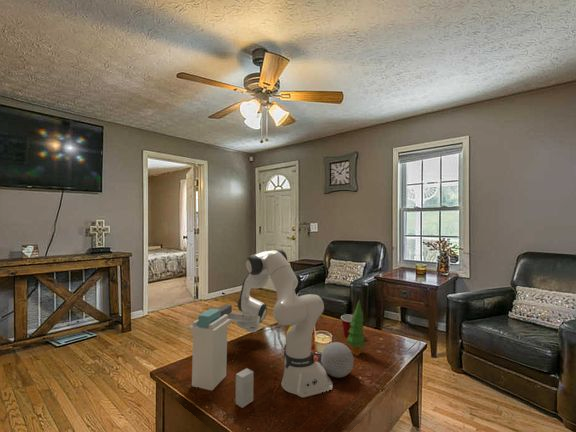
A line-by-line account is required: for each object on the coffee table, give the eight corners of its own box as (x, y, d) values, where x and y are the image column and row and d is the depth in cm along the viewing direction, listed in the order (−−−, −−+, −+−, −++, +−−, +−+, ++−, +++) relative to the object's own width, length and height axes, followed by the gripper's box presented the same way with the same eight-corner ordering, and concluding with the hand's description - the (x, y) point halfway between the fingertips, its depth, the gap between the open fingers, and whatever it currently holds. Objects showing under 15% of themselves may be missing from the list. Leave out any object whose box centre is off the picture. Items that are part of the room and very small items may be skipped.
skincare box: (246, 396, 121) (246, 367, 121) (253, 401, 118) (254, 371, 118) (234, 403, 116) (235, 373, 116) (242, 408, 114) (242, 377, 114)
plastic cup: (339, 338, 181) (339, 319, 181) (341, 332, 191) (341, 313, 191) (357, 341, 178) (357, 321, 178) (358, 334, 188) (358, 315, 188)
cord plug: (223, 311, 148) (224, 301, 148) (232, 312, 146) (233, 302, 146) (198, 326, 127) (198, 315, 127) (208, 328, 125) (208, 316, 125)
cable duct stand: (206, 370, 140) (208, 311, 140) (229, 375, 137) (230, 315, 137) (188, 386, 127) (189, 321, 127) (212, 392, 123) (214, 325, 123)
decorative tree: (365, 357, 158) (367, 301, 157) (348, 356, 158) (349, 300, 158) (361, 349, 167) (363, 296, 167) (344, 348, 168) (346, 295, 167)
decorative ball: (353, 370, 144) (354, 339, 144) (351, 387, 130) (353, 353, 130) (322, 365, 148) (324, 335, 148) (318, 380, 134) (319, 347, 134)
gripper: (229, 312, 170) (219, 306, 158) (262, 316, 164) (254, 310, 152) (226, 323, 167) (215, 318, 155) (260, 328, 161) (251, 323, 149)
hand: (235, 314), depth 154 cm, fingers open, 8 cm apart
